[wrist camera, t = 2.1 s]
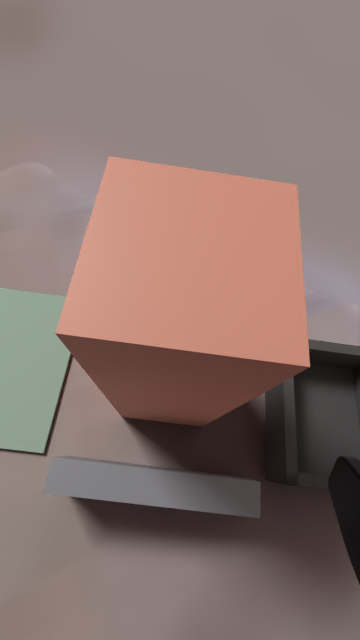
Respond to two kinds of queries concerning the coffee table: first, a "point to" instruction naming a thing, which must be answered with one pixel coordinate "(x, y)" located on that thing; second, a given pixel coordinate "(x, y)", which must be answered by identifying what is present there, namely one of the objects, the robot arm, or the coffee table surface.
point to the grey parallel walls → (153, 486)
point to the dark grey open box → (314, 417)
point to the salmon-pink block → (187, 291)
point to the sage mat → (29, 368)
